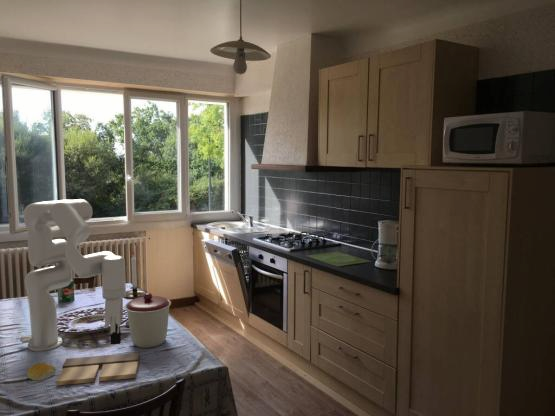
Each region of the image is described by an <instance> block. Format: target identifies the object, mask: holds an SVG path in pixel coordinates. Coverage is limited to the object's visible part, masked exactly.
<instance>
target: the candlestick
mask: <svg viewBox="0 0 555 416" xmlns="http://www.w3.org/2000/svg"><path fill="white" fill-rule="evenodd" d="M131 253H132V257H131V281H132V283H131V287H129V288H130V290H126V296H125V297H124V298H123V299H125V300H130V301H131V300H133V299H136V298H139V297H143V296H144V294H145V293H148V291H147V290H145V289H139V288H140V286H138V283H137V282H138V280H137V278H138V277H137V258H136V257H135V253H134V250H133V249H132V248H131ZM125 327H126V328H129V322H128V320H127V321H126V322H125Z"/></svg>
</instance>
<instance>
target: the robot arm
mask: <svg viewBox="0 0 555 416" xmlns="http://www.w3.org/2000/svg"><path fill="white" fill-rule="evenodd" d="M93 215H94V214H93V207H92V205H91V204H90V203H89V201H87V200H86V199H82V198H78V199H74V198H73V199H69V198H68V199H59V200H47V201H46V200H45V201H39V202H38V201H37V202H33V203H30V204H28V205H27V206H25V208H24V210H23V214H22V217H23V222H24V226H25V228H26V231H27V253H28V256H27V257H28V261H29V264H30V265H31V266H32V267H36V268H37V267H38V268H37V269H33V270H31V271H29V272H28V273H27V274H26V275H25V277H24V286H25V290H26V292H27V297H28V308H29V320H30V321H29V322H30V334H29V335H28V336H26V335H24V336H23V335H22V336H20V342H21V344H27V349H28V350H29V351H32V352H45V351H46V352H47V351H51V350H54V349H57V348H58V347H60V346H61V345H62V344H63V338H62V337H60V336H59V334H58V333H59V331H58V330H59V329H58V314H57V302H56V299H55V298H54V296H52V295H51V294H50V292H53V291H55V290H57V289H59V288H63V287H66V286H68V285H69V284H70V283H71V281H72V279H73V272H74V274H75V275H76V276H78V277H80V278H83V279H86V278H91V277H95V276H97V275H101V286H102V287H101V289H102V299H104V300H105V301H104V303H105V304H104V327H105V329H108V328H109V327H110V329H109V330H110V333H109V335H110V345H120V344H121V343H122V337H121V336H122V331H121V325H122V321H123V316H124V315H123V314H124V306H123V305H124V303H123V302H124V301H123V299H124V297H125V296H126V291H127V288H126V259H125V257H124V256H123V255H119V254H117V255H116V254H115V253H113V252H112V251H110V250H104V251H99V252H93V253H89V254H84V255H82V253H81V252H80V250H79V249H78V247H77V246H79V245H81V244H82V243H83V242H85V241H86V240H87V239H88V238H89V236H90V235H91V232H92V231H91V227H90V226H89V224H88V223H87V221H89V220H90V219H91V218H92V216H93ZM54 223H55V224H56V225H57V227H58V228H59V230H60V231H61V232H62V234H63V235H64V237H65V238H66V239H63V238H56V239H53V231H52V228H51V226H50V225H49V224H54ZM50 265H52V266H50ZM45 266H46V267H45ZM39 267H40V268H39Z"/></svg>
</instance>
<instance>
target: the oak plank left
mask: <svg viewBox="0 0 555 416" xmlns="http://www.w3.org/2000/svg"><path fill="white" fill-rule="evenodd" d="M99 371H100V368H99V365H92V366H81V367H70V368H62V370H61V372H60V374H59V375H58V378H57V379H56V380H55V382H56V387H57V386H67V385H75V384H76V385H77V384H86V383H87V384H89V383H95V382H96V378H97V376H98V373H99Z"/></svg>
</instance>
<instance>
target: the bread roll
mask: <svg viewBox="0 0 555 416" xmlns="http://www.w3.org/2000/svg"><path fill="white" fill-rule="evenodd" d="M55 372H56V368H55V366H54V365H50V364H48V363H46V362H39V363H35V364H34V365H32V366H31V367H30V368H29V369H28V370H27V376H26V377H27V378H28V379H29V380H32V381H44V380H47V379H49V378H51V377H53V376H54V375H55Z"/></svg>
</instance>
